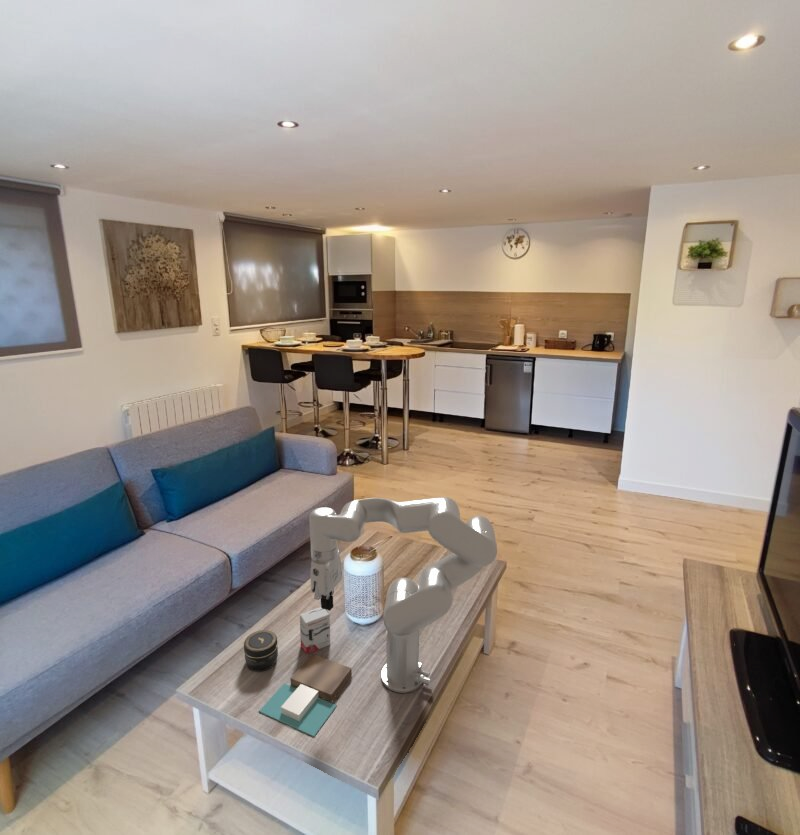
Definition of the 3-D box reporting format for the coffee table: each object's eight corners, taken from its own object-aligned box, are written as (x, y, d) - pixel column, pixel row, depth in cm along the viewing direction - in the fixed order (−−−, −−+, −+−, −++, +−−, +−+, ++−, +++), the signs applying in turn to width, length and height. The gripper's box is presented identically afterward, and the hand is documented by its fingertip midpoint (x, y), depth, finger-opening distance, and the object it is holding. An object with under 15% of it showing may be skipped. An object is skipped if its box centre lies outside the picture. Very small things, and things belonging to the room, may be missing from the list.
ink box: (306, 655, 155) (305, 622, 152) (300, 645, 159) (298, 614, 156) (331, 644, 160) (330, 613, 157) (324, 636, 164) (323, 605, 161)
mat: (336, 706, 136) (336, 705, 136) (314, 736, 127) (313, 736, 127) (284, 684, 143) (284, 683, 143) (259, 711, 134) (259, 710, 134)
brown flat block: (351, 675, 147) (351, 668, 146) (331, 702, 137) (331, 694, 137) (312, 660, 153) (312, 653, 152) (290, 685, 143) (290, 678, 142)
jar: (261, 645, 159) (260, 625, 157) (285, 656, 154) (284, 635, 152) (238, 665, 150) (236, 644, 148) (262, 677, 146) (261, 656, 144)
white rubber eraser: (318, 696, 139) (318, 691, 138) (299, 721, 131) (298, 715, 130) (301, 689, 141) (300, 683, 141) (281, 713, 133) (280, 707, 133)
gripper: (321, 567, 130) (324, 627, 134) (349, 541, 143) (351, 596, 148) (297, 561, 133) (301, 619, 137) (327, 536, 146) (329, 590, 151)
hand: (327, 607), depth 143 cm, fingers closed
